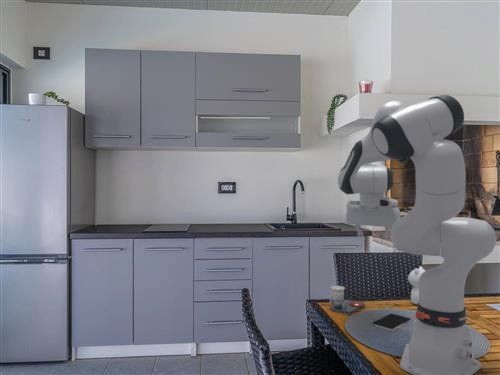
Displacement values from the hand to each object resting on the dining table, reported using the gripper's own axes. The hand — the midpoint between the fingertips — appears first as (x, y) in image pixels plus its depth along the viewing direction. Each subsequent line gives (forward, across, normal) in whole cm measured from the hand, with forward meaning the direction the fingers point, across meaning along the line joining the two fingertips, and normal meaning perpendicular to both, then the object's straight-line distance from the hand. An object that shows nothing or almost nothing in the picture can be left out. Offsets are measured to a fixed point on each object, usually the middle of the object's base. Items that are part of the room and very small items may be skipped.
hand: (372, 237), depth 137 cm
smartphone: (+29, +9, -5) cm, 31 cm away
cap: (+25, -12, -5) cm, 28 cm away
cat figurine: (+29, +12, +23) cm, 39 cm away
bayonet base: (+29, -10, -1) cm, 30 cm away
